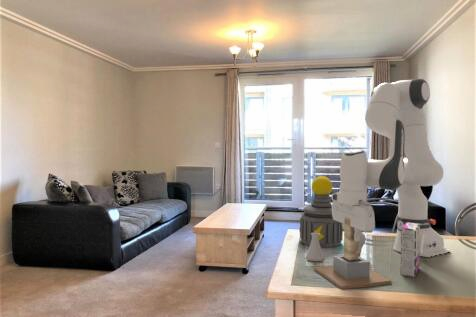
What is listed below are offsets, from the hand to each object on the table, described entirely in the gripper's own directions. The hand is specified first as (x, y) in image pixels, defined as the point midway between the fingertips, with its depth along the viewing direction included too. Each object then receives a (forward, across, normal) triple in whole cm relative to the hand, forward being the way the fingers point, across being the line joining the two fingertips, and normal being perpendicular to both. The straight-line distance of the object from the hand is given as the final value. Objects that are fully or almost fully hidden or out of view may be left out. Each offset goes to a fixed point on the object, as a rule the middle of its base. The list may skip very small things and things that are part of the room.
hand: (351, 239), depth 126 cm
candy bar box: (+13, -1, -23) cm, 27 cm away
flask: (+13, +20, +3) cm, 24 cm away
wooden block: (+7, 0, 0) cm, 7 cm away
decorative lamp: (+13, +41, -11) cm, 44 cm away
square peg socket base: (+13, 0, 0) cm, 13 cm away
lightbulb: (+13, +16, -13) cm, 24 cm away
